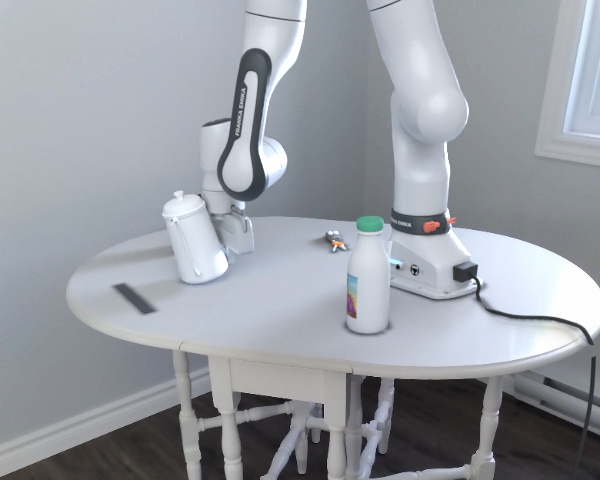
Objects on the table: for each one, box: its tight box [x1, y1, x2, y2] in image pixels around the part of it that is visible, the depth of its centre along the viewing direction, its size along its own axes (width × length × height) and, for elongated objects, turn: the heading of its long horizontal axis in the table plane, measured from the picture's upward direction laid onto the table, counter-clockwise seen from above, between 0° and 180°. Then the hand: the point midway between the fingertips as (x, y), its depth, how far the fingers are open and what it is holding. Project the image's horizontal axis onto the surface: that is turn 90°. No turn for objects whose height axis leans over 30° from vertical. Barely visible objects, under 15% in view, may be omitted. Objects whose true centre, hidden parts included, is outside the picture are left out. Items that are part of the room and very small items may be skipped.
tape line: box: [114, 283, 155, 314], centre depth 134 cm, size 18×2×1 cm, turn 33°
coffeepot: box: [161, 189, 229, 285], centre depth 136 cm, size 11×25×19 cm, turn 179°
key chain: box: [325, 230, 347, 252], centre depth 160 cm, size 13×4×2 cm, turn 8°
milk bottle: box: [346, 215, 391, 335], centre depth 114 cm, size 8×8×20 cm
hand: (229, 262), depth 144 cm, fingers closed, pressing on coffeepot
